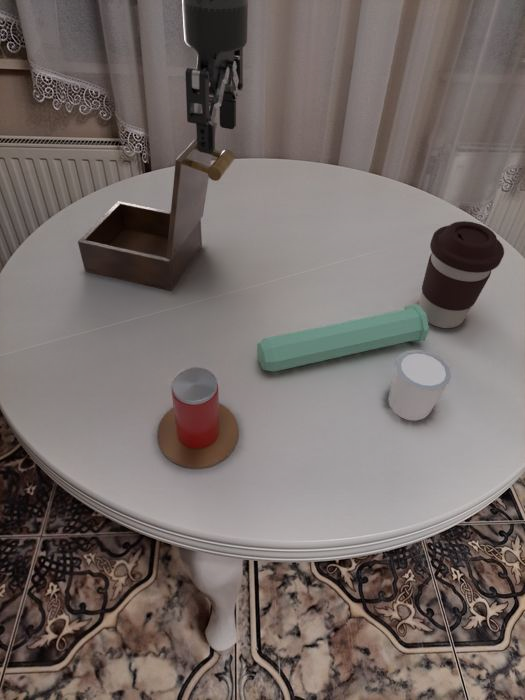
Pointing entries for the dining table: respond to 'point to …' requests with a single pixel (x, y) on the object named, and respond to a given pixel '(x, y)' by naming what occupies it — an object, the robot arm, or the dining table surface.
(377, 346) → the container
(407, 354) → the white short cylinder
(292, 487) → the dining table surface
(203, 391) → the can
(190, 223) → the lid
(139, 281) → the chest
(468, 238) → the coffee cup
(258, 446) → the dining table surface
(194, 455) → the coaster
